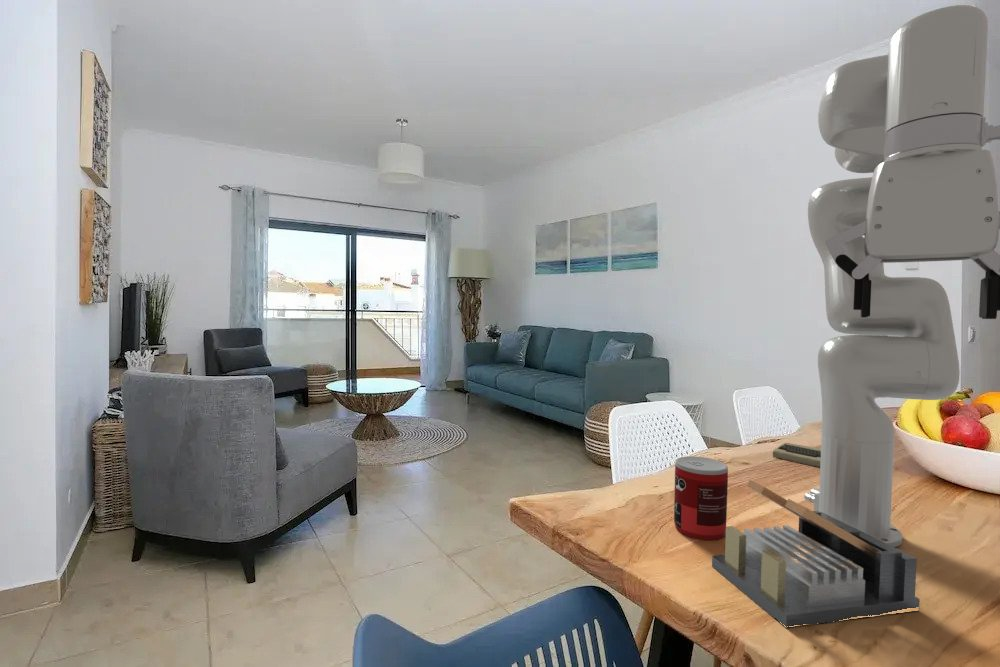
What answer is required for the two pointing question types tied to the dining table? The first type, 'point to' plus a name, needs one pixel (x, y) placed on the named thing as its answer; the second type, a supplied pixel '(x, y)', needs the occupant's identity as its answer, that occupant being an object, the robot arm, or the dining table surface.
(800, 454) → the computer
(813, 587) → the heatsink block
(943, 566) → the dining table surface
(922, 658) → the dining table surface
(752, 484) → the strap
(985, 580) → the dining table surface
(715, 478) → the canned food
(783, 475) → the dining table surface
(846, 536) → the near strap
